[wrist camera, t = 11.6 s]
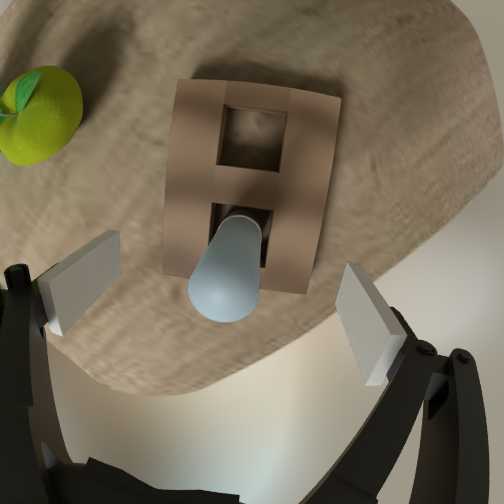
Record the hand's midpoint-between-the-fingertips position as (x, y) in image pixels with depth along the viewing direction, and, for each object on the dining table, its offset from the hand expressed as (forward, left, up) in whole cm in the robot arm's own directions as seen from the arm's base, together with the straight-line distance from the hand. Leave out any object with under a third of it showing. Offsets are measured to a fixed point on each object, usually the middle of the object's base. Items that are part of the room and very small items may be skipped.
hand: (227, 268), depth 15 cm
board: (-3, 0, -10) cm, 11 cm away
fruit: (-9, -20, -11) cm, 25 cm away
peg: (+1, 0, -11) cm, 10 cm away
